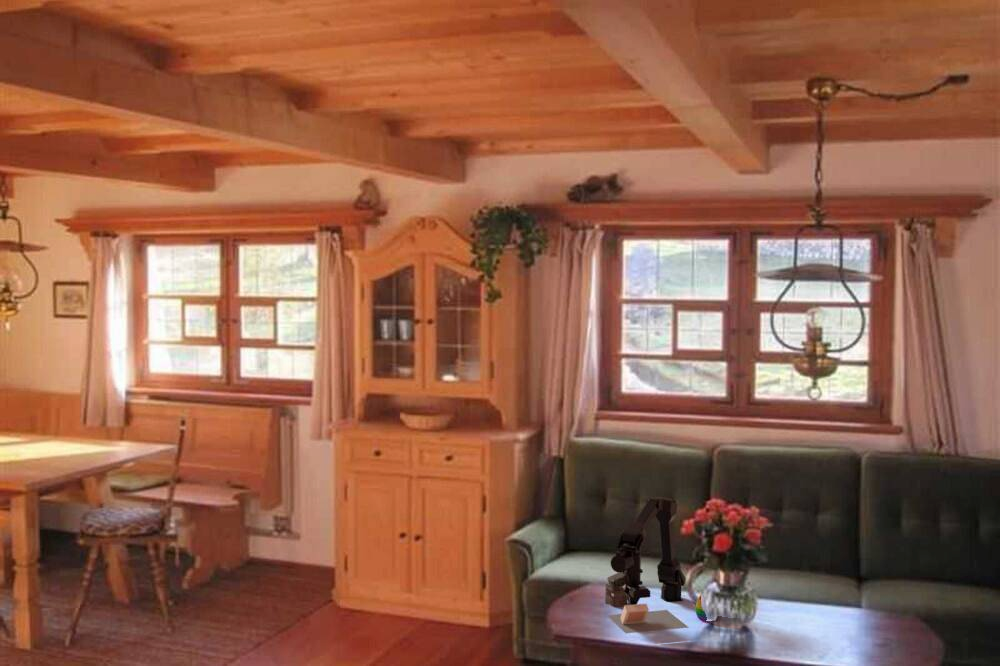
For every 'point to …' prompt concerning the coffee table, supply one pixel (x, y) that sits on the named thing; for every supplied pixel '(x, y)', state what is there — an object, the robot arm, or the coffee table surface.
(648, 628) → the mat
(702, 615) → the decorative egg
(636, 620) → the plaque
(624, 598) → the box
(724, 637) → the coffee table surface
